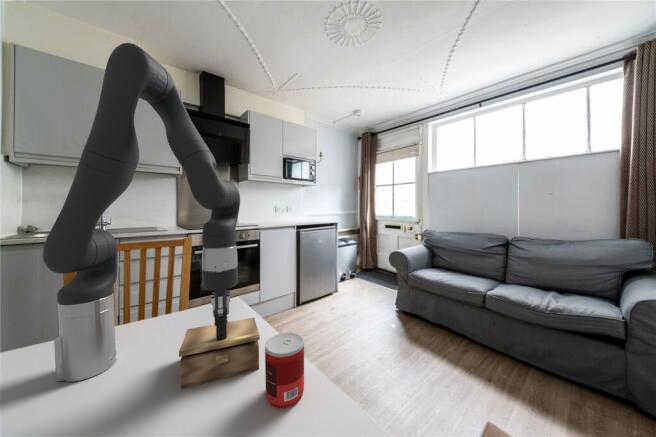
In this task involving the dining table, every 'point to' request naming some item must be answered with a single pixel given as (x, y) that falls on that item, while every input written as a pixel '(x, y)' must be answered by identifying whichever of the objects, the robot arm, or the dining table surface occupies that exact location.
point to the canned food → (284, 369)
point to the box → (219, 363)
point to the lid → (206, 337)
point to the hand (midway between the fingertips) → (221, 338)
